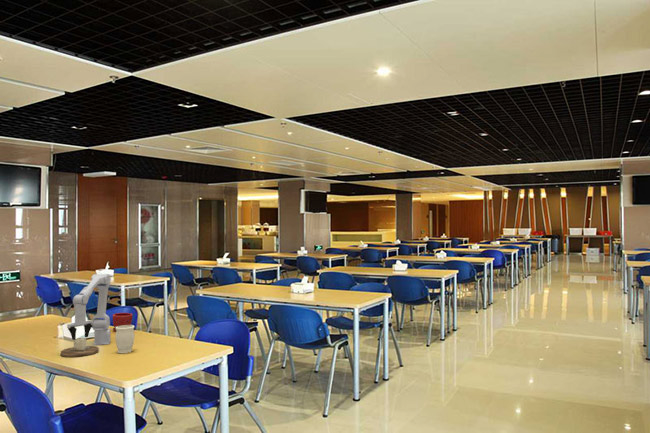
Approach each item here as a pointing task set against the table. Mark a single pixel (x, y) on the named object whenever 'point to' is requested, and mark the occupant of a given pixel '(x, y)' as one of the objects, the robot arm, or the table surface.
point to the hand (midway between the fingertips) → (80, 338)
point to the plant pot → (121, 319)
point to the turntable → (79, 351)
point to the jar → (124, 338)
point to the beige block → (80, 343)
